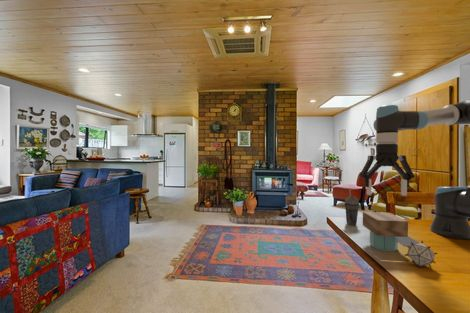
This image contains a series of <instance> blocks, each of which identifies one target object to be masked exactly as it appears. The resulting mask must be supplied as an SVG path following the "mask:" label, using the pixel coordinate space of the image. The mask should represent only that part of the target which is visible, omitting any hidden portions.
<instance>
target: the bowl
mask: <svg viewBox="0 0 470 313" xmlns="http://www.w3.org/2000/svg"><path fill="white" fill-rule="evenodd" d="M369 244H370V246H371V247H372V248H374V249H376V250H379V251H384V252H396V251H397V249H398V247H399V243H398V237H396V236H377V235H376V234H374V233H373V232H371V231H370V230H369Z"/></svg>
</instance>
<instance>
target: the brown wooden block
mask: <svg viewBox="0 0 470 313" xmlns="http://www.w3.org/2000/svg"><path fill="white" fill-rule="evenodd" d="M362 226H363V227H364V228H366V229H367V230H369V232H370V231H371V232H373V233H374V234H376V235H377V236H396V237H408V236H409V221H408V220H406V219H404V218H401V217H400V216H397V215H395V214H393V213H391V212H384V211H383V212H382V211H380V212H379V211H362Z"/></svg>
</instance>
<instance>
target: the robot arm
mask: <svg viewBox="0 0 470 313" xmlns="http://www.w3.org/2000/svg"><path fill="white" fill-rule="evenodd" d="M438 125H446V126H451V125H452V126H454V125H470V99H466V100H463V101H460V102H456V103H452V104H447V105H445V106H442V107H440V108H434V109H426V110H419V111H418V110H399V106H398V105H397V104H386V105H382V106H378V107H377V109H376V115H375V120H374V122H373V128H374V131H375V132H376V134H375V143H376V145H375V154H376V155H371V154H370V155H367V159H366V160H367V161H366V162H365V164H364V166H363V168H362V170H361V172H360V174H359V177H360V178H362V179H364V180H363V181H364V182H363V183H364V184H363V185H364V187H365V188H366V194H365V195H367V196H372V181H373V180H372V179H371V177H373V175H374V174H375V173H376V172H377V171H378V169H380V168H381V167H392V168H394V170H396V172H397V173H398V174H399V175H400V176H401V179H400V195H401V196H403V197H407V196H408V188H409V187H410V181H411V179H414V178H415V176H416V175H415V173H414V172H413V170H412V168H411V166H410V164H409V163H408V161H407V156H406V155H403V154H402V155H398V153H399V147H398V146H399V145H398V142H399V131H410V130H411V131H412V130H413V131H415V130H416V131H417V130H422V129H424V128H425V127H430V126H431V127H432V126H438ZM374 161H376V162H375V163H374V164H373V162H374ZM398 161H399V162H400V164H401V166H402V167H401V166H400V164H399V163H398ZM372 164H373V166H372ZM434 198H435V199H434V200H435V201H434V202H435V204H434V208H435V210H434V211H435V212H434V217H433V220H432V222H431V224H430V226H429V229H430V232H432V233H434V234H436V235H439V236H442V237H446V238H452V239H459V240H470V223H469V218H470V185H466V186H438V187H436V189H435V195H434Z"/></svg>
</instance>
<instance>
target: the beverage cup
mask: <svg viewBox="0 0 470 313" xmlns="http://www.w3.org/2000/svg"><path fill="white" fill-rule="evenodd" d="M348 191H349V196H347V197H346V198H345V200H344V207H345V218H346V220H345V221H346V225H348V226H352V227H354V226H357V223H358V222H357V221H358V214H359V207H360V201H359V199H358V198H357V197H356V196H354V195H352V193H351V188H349V190H348Z"/></svg>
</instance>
